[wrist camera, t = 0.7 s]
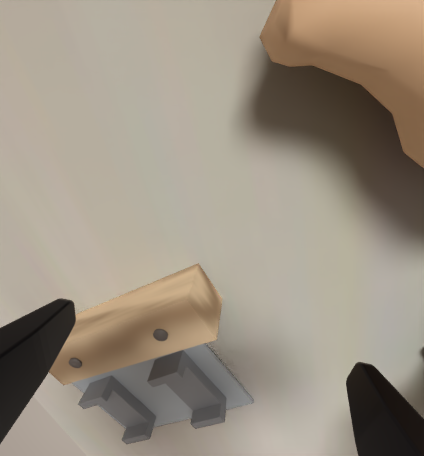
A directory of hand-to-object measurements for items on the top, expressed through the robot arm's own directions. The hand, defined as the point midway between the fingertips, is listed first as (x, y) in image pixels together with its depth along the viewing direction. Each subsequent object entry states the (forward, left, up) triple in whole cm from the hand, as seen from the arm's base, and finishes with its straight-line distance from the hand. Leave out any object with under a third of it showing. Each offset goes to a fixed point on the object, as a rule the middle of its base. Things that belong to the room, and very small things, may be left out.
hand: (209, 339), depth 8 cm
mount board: (-17, +21, -14) cm, 30 cm away
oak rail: (-6, +15, -14) cm, 21 cm away
